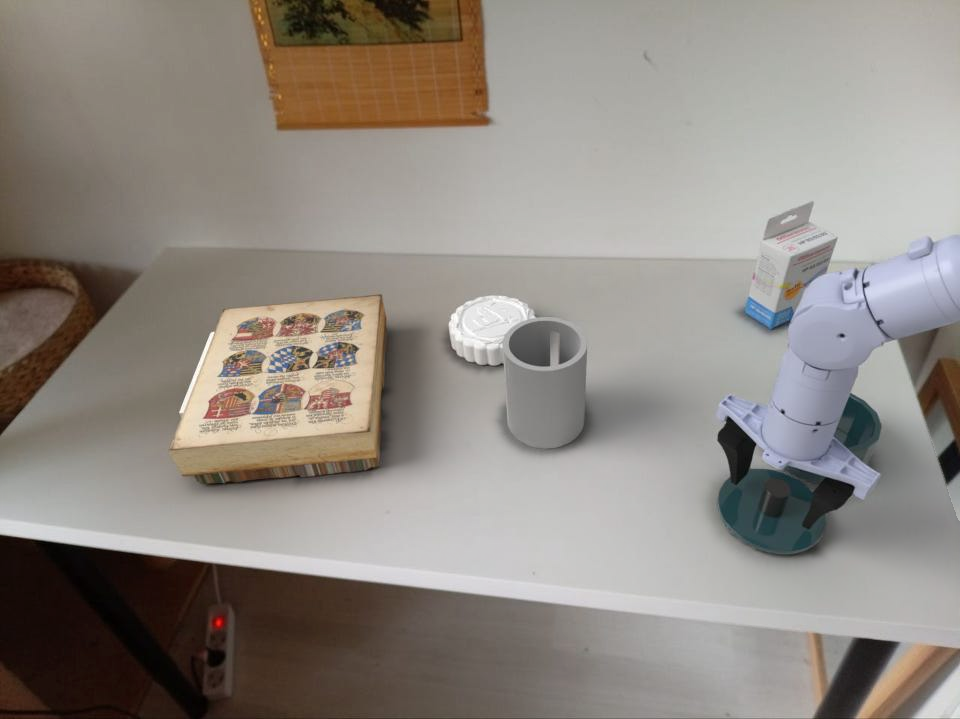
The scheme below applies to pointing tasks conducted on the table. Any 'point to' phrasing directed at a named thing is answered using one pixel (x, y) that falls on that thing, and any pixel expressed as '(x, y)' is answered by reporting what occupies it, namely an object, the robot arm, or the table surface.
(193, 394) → the book
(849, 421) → the tin
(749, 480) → the tin lid
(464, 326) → the mooncake
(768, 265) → the ink box
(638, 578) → the table surface
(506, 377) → the cup
